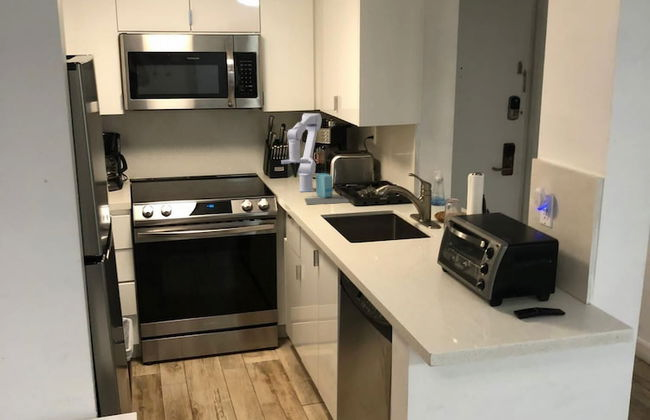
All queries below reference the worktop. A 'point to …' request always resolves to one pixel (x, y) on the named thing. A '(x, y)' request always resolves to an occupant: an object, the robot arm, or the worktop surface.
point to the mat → (326, 200)
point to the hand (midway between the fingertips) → (295, 177)
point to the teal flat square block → (324, 185)
